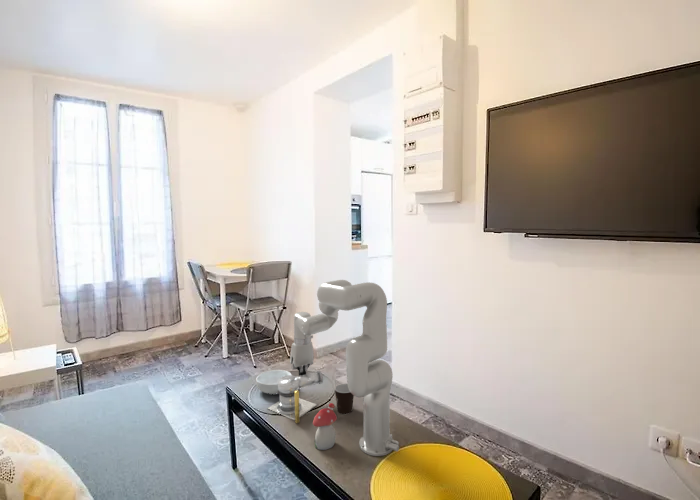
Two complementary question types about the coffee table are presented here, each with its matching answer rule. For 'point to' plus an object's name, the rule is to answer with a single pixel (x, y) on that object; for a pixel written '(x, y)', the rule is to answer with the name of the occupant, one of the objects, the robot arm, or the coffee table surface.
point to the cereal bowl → (270, 380)
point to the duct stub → (292, 406)
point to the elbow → (298, 382)
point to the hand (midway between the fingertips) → (302, 378)
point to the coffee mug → (344, 399)
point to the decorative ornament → (325, 428)
